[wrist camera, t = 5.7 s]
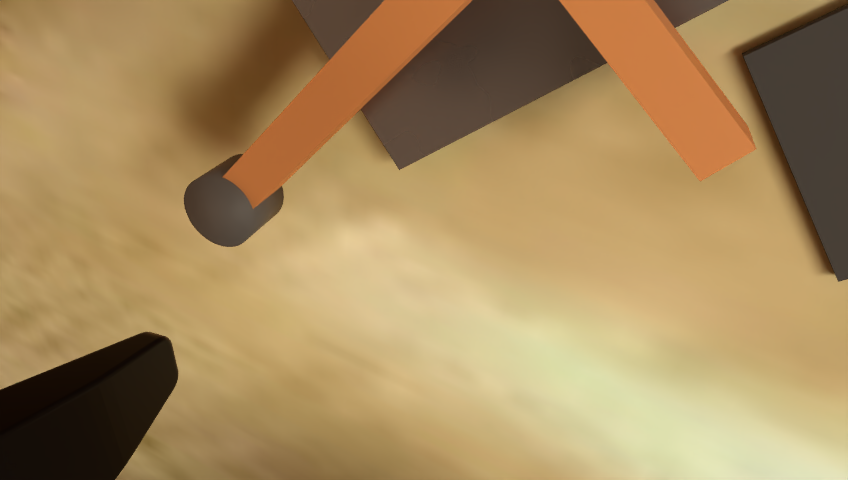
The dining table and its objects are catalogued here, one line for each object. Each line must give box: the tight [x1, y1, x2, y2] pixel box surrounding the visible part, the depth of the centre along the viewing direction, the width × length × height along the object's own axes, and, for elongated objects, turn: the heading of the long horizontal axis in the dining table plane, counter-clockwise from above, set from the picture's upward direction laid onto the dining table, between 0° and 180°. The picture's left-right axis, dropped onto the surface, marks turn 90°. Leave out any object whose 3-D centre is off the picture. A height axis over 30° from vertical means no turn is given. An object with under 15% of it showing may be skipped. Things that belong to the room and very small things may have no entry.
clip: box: [184, 0, 756, 247], centre depth 16 cm, size 13×8×4 cm, turn 134°
